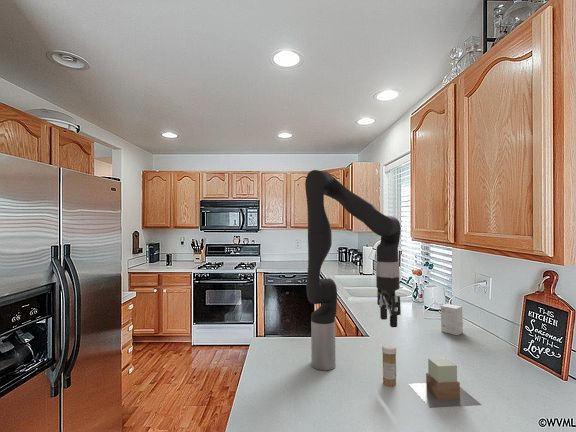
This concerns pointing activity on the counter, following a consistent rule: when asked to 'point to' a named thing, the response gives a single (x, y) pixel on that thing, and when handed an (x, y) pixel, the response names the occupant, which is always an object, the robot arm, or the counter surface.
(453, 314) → the small box
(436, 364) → the sage top block
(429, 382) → the walnut base block
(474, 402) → the slate board
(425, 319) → the counter surface
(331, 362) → the robot arm
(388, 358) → the sprinkles bottle
